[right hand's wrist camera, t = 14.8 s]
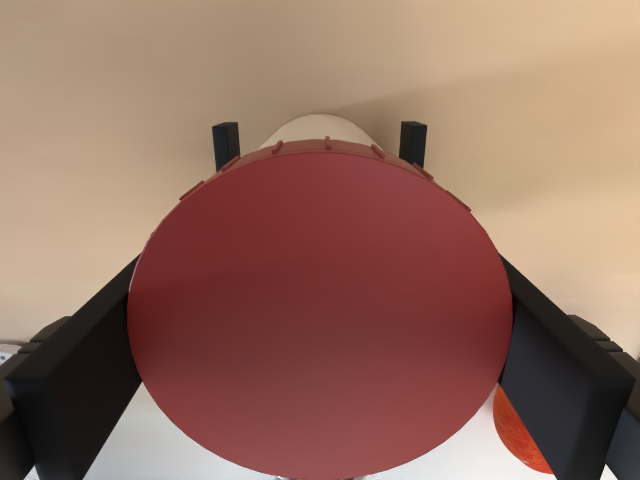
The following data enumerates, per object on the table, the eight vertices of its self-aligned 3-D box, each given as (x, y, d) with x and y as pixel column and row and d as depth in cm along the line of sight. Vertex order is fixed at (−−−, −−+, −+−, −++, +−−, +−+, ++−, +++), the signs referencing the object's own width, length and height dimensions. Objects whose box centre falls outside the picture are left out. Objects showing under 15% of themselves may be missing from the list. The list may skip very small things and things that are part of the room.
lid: (534, 182, 11) (588, 205, 9) (420, 441, 14) (439, 505, 12) (176, 96, 10) (136, 98, 8) (148, 393, 14) (115, 452, 11)
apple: (503, 433, 37) (550, 520, 30) (463, 377, 35) (503, 456, 27) (584, 394, 35) (655, 476, 28) (548, 333, 33) (614, 404, 25)
